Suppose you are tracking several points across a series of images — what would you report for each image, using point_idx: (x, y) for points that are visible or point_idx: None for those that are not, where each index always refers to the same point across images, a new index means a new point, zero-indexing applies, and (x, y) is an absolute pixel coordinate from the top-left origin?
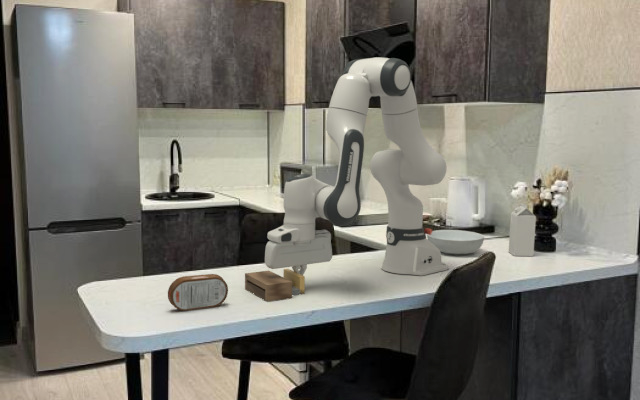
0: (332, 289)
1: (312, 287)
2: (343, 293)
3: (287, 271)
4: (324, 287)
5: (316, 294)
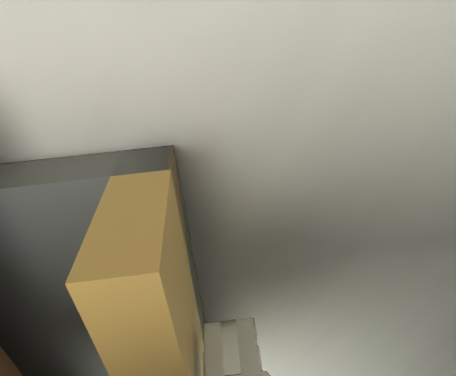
0: (418, 314)
1: (337, 253)
2: (409, 373)
3: (109, 362)
4: (410, 272)
5: (272, 365)
